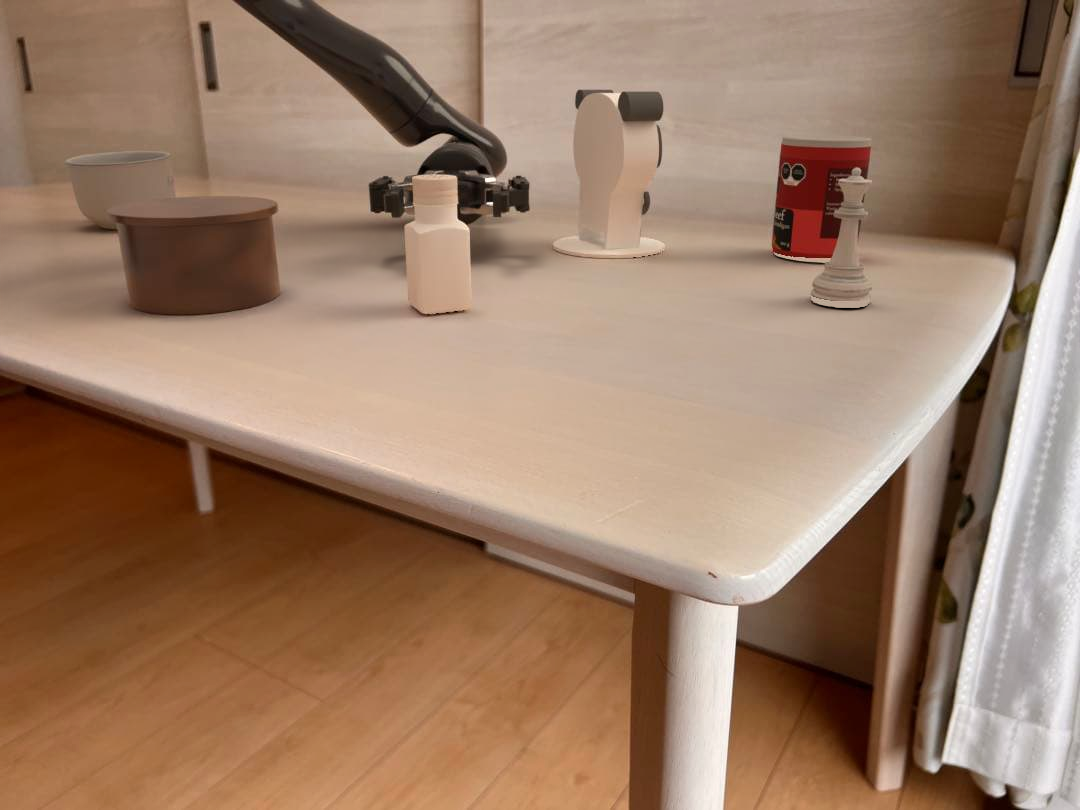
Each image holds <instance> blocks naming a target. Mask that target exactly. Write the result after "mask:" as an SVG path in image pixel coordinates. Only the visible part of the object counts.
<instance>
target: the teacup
mask: <svg viewBox="0 0 1080 810" xmlns="http://www.w3.org/2000/svg"><path fill="white" fill-rule="evenodd" d="M171 157H172V156H171V153H170V152H167V151H159V150H124V151H111V152H109V151H107V152H98V153H89V154H88V153H87V154H80V155H77V156H73V157H70V158H68V159H66V160H65V161H64V162H65V165H66V166H67V169H68V174H69V177H70V182H71V186H72V189H73V193H74V197H75V201H76V204H77V206H78V209H79V211H80V212H81V214H82V215H83V216H84V217H85V218H86V219H88V220H89V221H91V222H93V223H95V224H96V225H98V226H99V228H102V229H105V230H115V231H116V230H117V225H116V223H115V222H111V221H110V220H109V219H108V217H107V210H108V209H109V208H111V207H114V206H117V205H121V204H125V203H131V202H137V201H145V200H153V199H164V198H176V186H175V180H174V174H173V167H172V163H171ZM117 231H118V230H117Z"/></svg>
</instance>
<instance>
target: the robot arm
mask: <svg viewBox="0 0 1080 810" xmlns="http://www.w3.org/2000/svg"><path fill="white" fill-rule="evenodd" d="M232 1H233V2H234V4H236V5H238V7H240V8H241V9H243V11H245V12H247V13H248V14H249V15H251V16H252V17H253V18H255V19H256V20H257V21H259V23H261V24H263V25H264V26H265V27H267V29H270V30H271V31H272V32H273V33H274V34H276V35H277V36H278V37H279V38H281V39H282V40H284V41H285V42H286V43H287V44H289V45H290V46H291V47H293V48H294V49H295V50H296V51H298V52H299V53H301V54H302V55H303V56H304V57H306V58H307V59H308V60H309V61H311V62H312V63H313V64H315V65H316V66H317V67H319V68H320V69H321V70H322V71H324V72H325V73H326V74H327V75H329V76H330V77H331V78H332V79H333V80H334V81H336V83H338V84H339V85H340V86H341V87H342V88H343V89H345V90H346V92H348V94H349V95H351V96H352V97H353V98H354V99H355V100H356V101H357V102H358V103H359V104H360V105H361V106H362V107H363V108H364V109H365V110H366V111H367V112H368V113H369V114H370V115H371V117H373V119H374V120H375V121H376V122H377V123H378V124H380V126H381V127H382V128H383V129H384V130H385V131H386V132H388V134H389V135H390V136H391V137H392V138H393V139H394V140H395V141H396V142H397V143H399V145H401V146H403V147H405V148H413V147H416V146H419V145H420V144H423V143H424V142H426V141H428V140H430V139H431V138H433V137H436V136H438V135H449V136H450V137H449V138H448V139H447V140H446V141H445V142H444V143H442V145H441V146H440V147H437V148H436V149H434V150H433V151H432V152H431V153H430V154H429V155H428V156H427V157H426V158H425V159H424V160H423V162H422V163H421V165H420V166H419V169H418V170H417V173H416V174H412V175H406V176H405V177H404V178H403V181H402V182H396V179H395V178H393V177H390V176H389V175H383V176H382V177H378V178H376V179H375V180H373V181H371V182H369V183H368V195H369V210H370V213H374V214H381V213H383V212H384V213H385V214H390V215H391V218H392V219H400V218H402V216H403V215H404V214H405V213H406V214H407V215H412V216H415V209H414V204H413V183H412V177H413V176H418V175H453V176H456V177H457V190H458V194H457V196H458V204H457V218H458V220H459V221H461V222H463V223H465V224H466V225H467V226H468V225H470V224H473V223H475V222H477V221H478V220H479V219H480V218H481V217H482V216H487V215H492V218H502V215H504V214H505V215H506V214H507V213H510V212H511V208H512V207H513V208H514V209H515V211H516V212H519V213H520V214H521V213H522V214H524V213H527V212H530V209H531V207H530V206H531V205H530V189H531V188H530V187H531V185H530V182H529V181H528V179H527V178H526V176H522V175H515V176H512V178H510V177H509V178H507V182H508V183H507V182H506V181H497V178H498V177H500V176H501V174H502V173H503V172H504V171H505V169H506V167H507V165H508V155H507V150H506V147H505V145H504V143H503V142H502V141H501V140H500V138H499V137H498V136H497V135H496V134H495V133H494V132H492V131H491V130H490V129H488V128H487V127H485V126H483V125H482V124H481V123H478V122H477V121H475V120H474V119H472V118H470V117H468V116H466V115H465V114H463V113H462V112H461V111H459V110H458V109H457V108H455V107H454V106H452V105H451V104H449V103H448V102H447V100H445V99H444V98H443V97H441V96H440V95H439V93H437V91H435V90H434V88H433V87H431V85H430V84H429V82H427V81H426V80H425V78H424V77H423V76H422V75H421V74H420V73H419V72H418V70H416V68H415V67H414V66H413V65H412V64H411V63H410V62H409V61H408V60H407V58H405V57H404V56H403V55H402V54H400V52H398V51H397V50H396V49H394V47H392V46H390V45H389V44H387V42H384V41H383V40H381V39H380V38H378V37H376V36H374V35H372V34H370V33H368V32H366V31H365V30H363V29H361V28H358V27H357V26H354V25H353V24H350V23H349V22H347V21H345V20H343V19H342V18H340V17H338V16H336V15H335V14H333V13H332V12H330V11H329V10H327V9H325V8H324V7H323V6H322V5H320V4H319V3H318V2H317V1H315V0H232Z"/></svg>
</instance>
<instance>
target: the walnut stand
mask: <svg viewBox="0 0 1080 810" xmlns="http://www.w3.org/2000/svg"><path fill="white" fill-rule="evenodd" d="M278 212H279V203H278V202H277V201H276V200H273V199H270V198H265V197H256V196H243V195H200V196H199V195H197V196H178V197H176V198H164V199H153V200H145V201H137V202H131V203H125V204H121V205H117V206H114V207H111V208H109V209H108V210H107V217H108V219H109V220H110V221H111V222H115V223H116V225H117V237H118V242H119V248H120V253H121V254H120V255H121V259H122V265H123V270H124V271H123V272H124V276H125V277H124V278H125V282H126V287H127V288H126V289H127V294H128V299H129V304H130V307H132V308H133V309H135V310H137V311H141V312H144V313H150V314H155V315H157V314H158V315H172V316H186V315H187V316H188V315H189V316H190V315H192V316H193V315H207V314H217V313H226V312H233V311H239V310H244V309H249V308H252V307H257V306H260V305H264V304H267V303H268V302H272V301H273V300H275V299H276V298H278V297H279V296H280V294H281V287H280V286H281V284H280V274H279V266H278V256H277V247H276V238H275V229H274V227H275V226H274V219H273V218H274V217H273V216H274V215H276V214H277V213H278Z"/></svg>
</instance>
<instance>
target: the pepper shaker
mask: <svg viewBox="0 0 1080 810" xmlns="http://www.w3.org/2000/svg"><path fill="white" fill-rule="evenodd" d="M412 183H413V204H414V209H415V215H414V220H413V221H411V222H408V223H406V224H405V225H404V228H403V231H404V249H405V250H404V251H405V267H406V269H405V270H406V286H407V287H406V288H407V300H408V302H409V304H410V305H411V306H412V307H413V308H415V309H416V310H417V311H419V312H420V313H421V314H424V315H427V314H430V315H437V314H436V313H439V314H447V313H446V312H449V313H455V312H454V311H458V312H464V311H463V310H465V311H467V310H469V309H471V306H472V274H471V273H472V269H471V240H470V239H471V235H470V234H471V232H470V227H469V226H468V225H466V224H465V223H463V222H461V221H459V220H458V218H457V204H458V196H457V194H458V190H457V177H456V176H453V175H418V176H413V177H412Z"/></svg>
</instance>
